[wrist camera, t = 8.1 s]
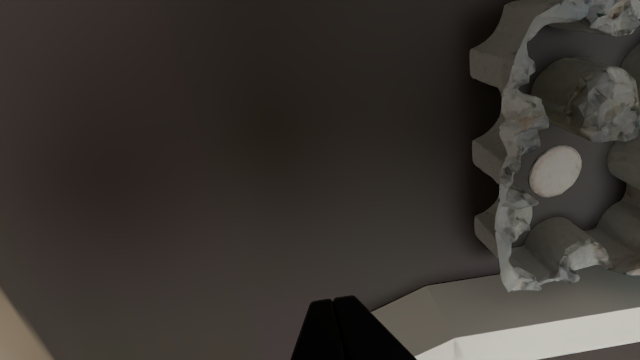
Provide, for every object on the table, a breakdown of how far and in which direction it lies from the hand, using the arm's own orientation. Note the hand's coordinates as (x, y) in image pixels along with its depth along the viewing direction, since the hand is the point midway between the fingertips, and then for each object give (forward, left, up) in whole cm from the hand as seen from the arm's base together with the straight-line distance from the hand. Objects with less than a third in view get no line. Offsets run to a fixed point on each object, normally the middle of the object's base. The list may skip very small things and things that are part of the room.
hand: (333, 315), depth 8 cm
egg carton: (+10, 0, -8) cm, 13 cm away
